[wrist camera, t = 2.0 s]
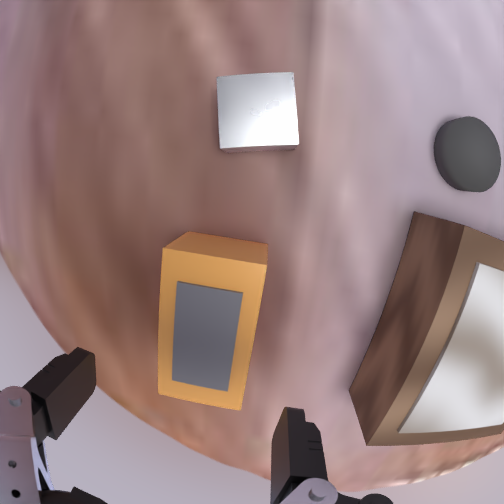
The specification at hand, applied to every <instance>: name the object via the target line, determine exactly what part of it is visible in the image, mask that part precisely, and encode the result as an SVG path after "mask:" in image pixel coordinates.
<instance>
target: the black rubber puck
mask: <svg viewBox="0 0 504 504" xmlns="http://www.w3.org/2000/svg"><path fill="white" fill-rule="evenodd" d="M434 157H435V161H436V165H437V168H438V170H439V172H440V174H441V176H442V177H443V179H444V180H445V181H446V182H447V183H448V184H449V185H450V186H452V187H453V188H455V189H458V190H462V191H471V192H484V191H486V190H488V189H489V188H491V187H492V186H493V184H494V183H495V182H496V180H497V178H498V175H499V172H500V166H501V156H500V149H499V145H498V142H497V140H496V138H495V136H494V134H493V132H492V131H491V129H490V128H489V127H488V126H487V125H486V124H485V123H484V122H483V121H481V120H480V119H477V118H475V117H470V116H469V117H463V118H459V119H455V120H452V121H449V122H446V123H445V124H444V125H443V126H442V127H441V128H440V129H439V131H438V133H437V135H436V138H435V142H434Z"/></svg>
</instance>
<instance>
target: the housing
mask: <svg viewBox="0 0 504 504" xmlns="http://www.w3.org/2000/svg"><path fill="white" fill-rule="evenodd" d="M267 254H268V244H265V243H258V242H252V241H246V240H240V239H234V238H228V237H221V236H215V235H209V234H202V233H196V232H190V231H188V232H186V233H185V234H183V235H182V236H180V237H179V238H177V239H176V240H174V241H173V242H171V243H170V244H168V245H167V246H165V247H164V248H163V254H162V268H161V283H160V301H159V327H158V394H162V395H166V396H170V397H174V398H179V399H183V400H187V401H192V402H197V403H202V404H207V405H212V406H217V407H223V408H229V409H235V410H241V405H242V400H243V395H244V390H245V385H246V379H247V374H248V369H249V363H250V358H251V353H252V347H253V342H254V337H255V331H256V326H257V320H258V315H259V309H260V303H261V298H262V292H263V287H264V281H265V275H266V269H267Z"/></svg>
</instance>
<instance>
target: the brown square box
mask: <svg viewBox="0 0 504 504" xmlns="http://www.w3.org/2000/svg"><path fill="white" fill-rule="evenodd" d="M349 393H350V396H351V399H352V402H353V405H354V408H355V411H356V414H357V417H358V420H359V423H360V426H361V430H362V433H363V436H364V439H365V442H366V446H395V445H418V444H432V443H443V442H452V441H460V440H467V439H474V438H480V437H486V436H492V435H497V434H501V433H502V431H503V430H504V241H501V240H499V239H497V238H494V237H492V236H490V235H487V234H485V233H482V232H480V231H477V230H475V229H472V228H470V227H467V226H465V225H461V224H458V223H454V222H451V221H447V220H444V219H440V218H437V217H433V216H429V215H425V214H422V213H418V212H414V214H413V218H412V222H411V225H410V229H409V233H408V236H407V240H406V243H405V247H404V250H403V254H402V257H401V260H400V263H399V267H398V270H397V273H396V276H395V279H394V282H393V285H392V288H391V291H390V294H389V296H388V299H387V302H386V305H385V307H384V310H383V313H382V315H381V318H380V321H379V323H378V326H377V328H376V331H375V333H374V336H373V338H372V341H371V343H370V345H369V348H368V350H367V353H366V355H365V357H364V359H363V362H362V364H361V366H360V368H359V371H358V373H357V375H356V377H355V379H354V381H353V384H352V386H351V388H350V390H349Z"/></svg>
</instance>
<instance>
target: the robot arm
mask: <svg viewBox="0 0 504 504" xmlns="http://www.w3.org/2000/svg"><path fill="white" fill-rule="evenodd" d="M95 386H96V367H95V355H94V353H92V352H89V351H87V350H84V349H82V348H79V347H77V348H76V349H74V350H73V351H72V352H71V353H70V354H69V355H67V354H63V355H60V356H57V357H55V358H54V359H53V360H52V361H51V362H49V363H48V365H46V366H45V367H44V368H43V369H42V370H40V371H39V372H38V373H37V374H36V375H35V376H34V377H33V378H32V379H31V380H30V381H28V382H27V383H26V384H25V385H24V386H23V387H18V386H11V387H7V388H5V389H4V390H2V391H0V504H107V503H106V502H104V501H103V500H101V499H100V498H97V497H95V496H93V495H91V494H88V493H86V492H84V491H82V490H80V489H78V488H76V487H73V489H72V491H71V492H67V491H60V490H54V487H53V484H52V481H51V477H50V473H49V468H48V462H47V456H46V449H45V443H44V439H45V438H46V436H49V437H51V438H53V439H55V440H57V439H58V437H59V436H60V435H61V433H62V432H63V431H64V430H65V428H66V427H67V426H68V424H69V423H70V422H71V420H72V419H73V418H74V416H75V415H76V414H77V413H78V411H79V410H80V409H81V408H82V406H83V405H84V404H85V402H86V401H87V400H88V399H89V397H90V396H91V395H92V394H93V392H94V390H95ZM321 443H322V440H321V434H320V431H319V430H318V428H317V427H316V425H315V424H314V423H311V422H306V421H305V413H304V410H303V409H298V408H291V407H285V408H284V409H283V412H282V414H281V417H280V419H279V422H278V424H277V426H276V429H275V431H274V434H273V439H272V454H271V502H270V503H271V504H393V502H392V501H391V500H390V499H389V498H388V497H386V496H384V495H381V494H369V495H366V496H365V497H364V498H362V499H361V500H360V499H356V498H352V497H348V496H345V495H342V494H340V493H338V492H337V490H336V488H335V487H334V485H332V484H331V483H330V482H328V477H327V471H326V465H325V458H324V452H323V446H322V444H321Z"/></svg>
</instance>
